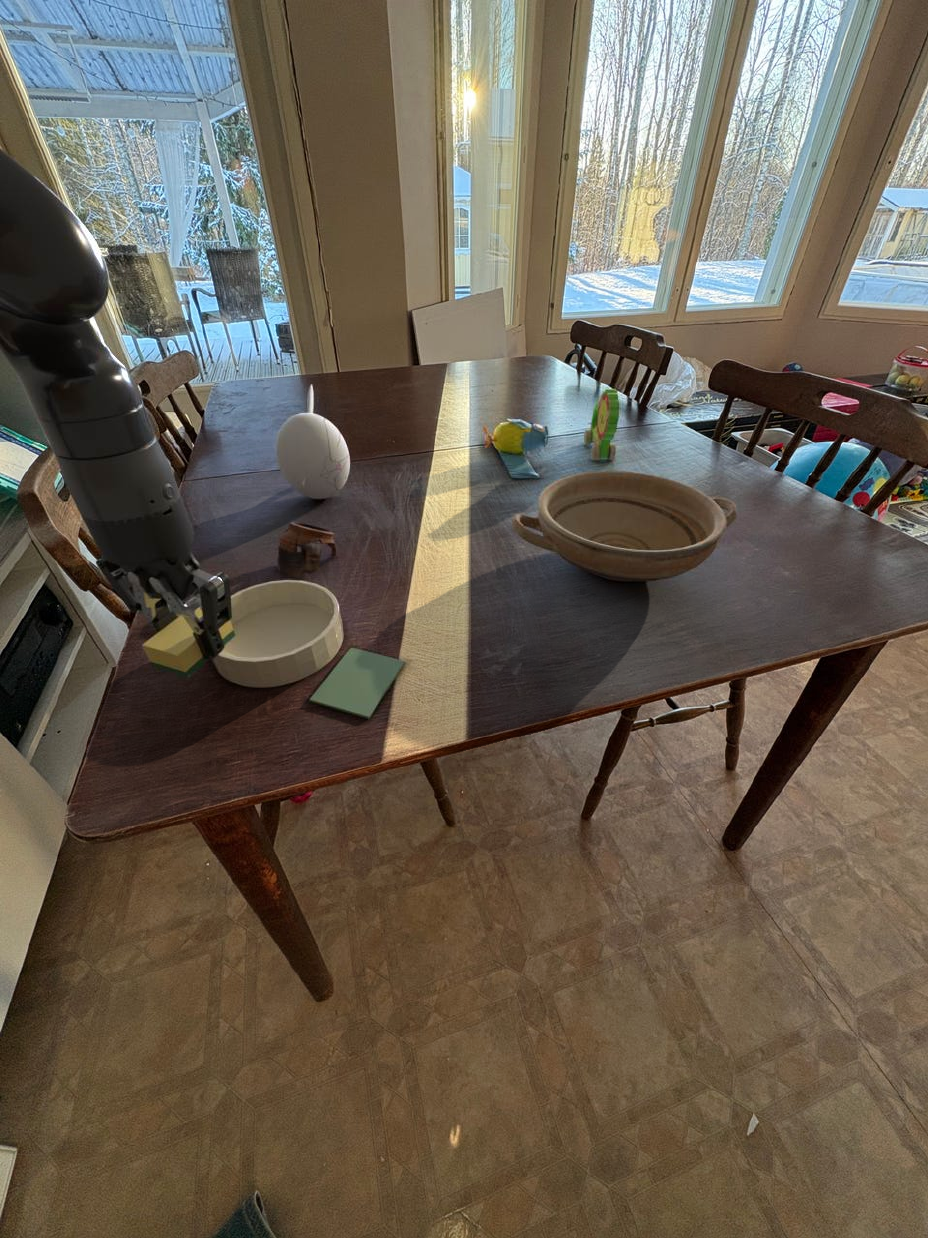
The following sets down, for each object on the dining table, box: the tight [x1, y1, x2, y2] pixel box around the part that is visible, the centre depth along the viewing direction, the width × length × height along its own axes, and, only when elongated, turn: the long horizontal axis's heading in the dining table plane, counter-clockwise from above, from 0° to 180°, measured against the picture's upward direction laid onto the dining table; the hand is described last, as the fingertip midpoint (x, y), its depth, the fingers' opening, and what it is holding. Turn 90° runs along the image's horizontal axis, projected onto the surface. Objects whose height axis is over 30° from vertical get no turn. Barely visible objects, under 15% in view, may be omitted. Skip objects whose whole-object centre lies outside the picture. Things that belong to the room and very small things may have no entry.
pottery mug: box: [276, 521, 338, 579], centre depth 84 cm, size 12×9×8 cm
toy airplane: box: [481, 418, 550, 480], centre depth 121 cm, size 28×9×15 cm
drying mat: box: [309, 647, 406, 720], centre depth 64 cm, size 10×8×1 cm
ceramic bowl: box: [511, 470, 739, 582], centre depth 83 cm, size 37×29×10 cm
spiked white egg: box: [275, 383, 351, 500], centre depth 104 cm, size 19×14×25 cm
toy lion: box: [583, 388, 620, 461], centre depth 120 cm, size 16×5×15 cm, turn 0°
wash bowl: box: [211, 579, 344, 689], centre depth 69 cm, size 17×17×4 cm
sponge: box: [141, 607, 235, 679], centre depth 53 cm, size 7×4×3 cm, turn 160°
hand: (194, 648), depth 53 cm, fingers closed on sponge, 4 cm apart
